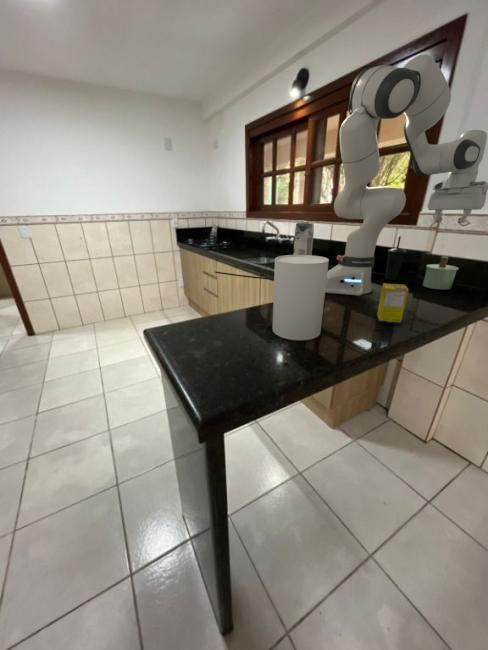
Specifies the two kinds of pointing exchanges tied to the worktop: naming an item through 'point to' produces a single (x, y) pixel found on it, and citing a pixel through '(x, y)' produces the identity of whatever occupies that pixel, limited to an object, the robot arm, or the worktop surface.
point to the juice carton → (303, 238)
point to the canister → (299, 296)
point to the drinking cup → (394, 262)
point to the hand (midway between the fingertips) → (449, 222)
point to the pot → (439, 279)
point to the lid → (442, 265)
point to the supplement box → (392, 303)
